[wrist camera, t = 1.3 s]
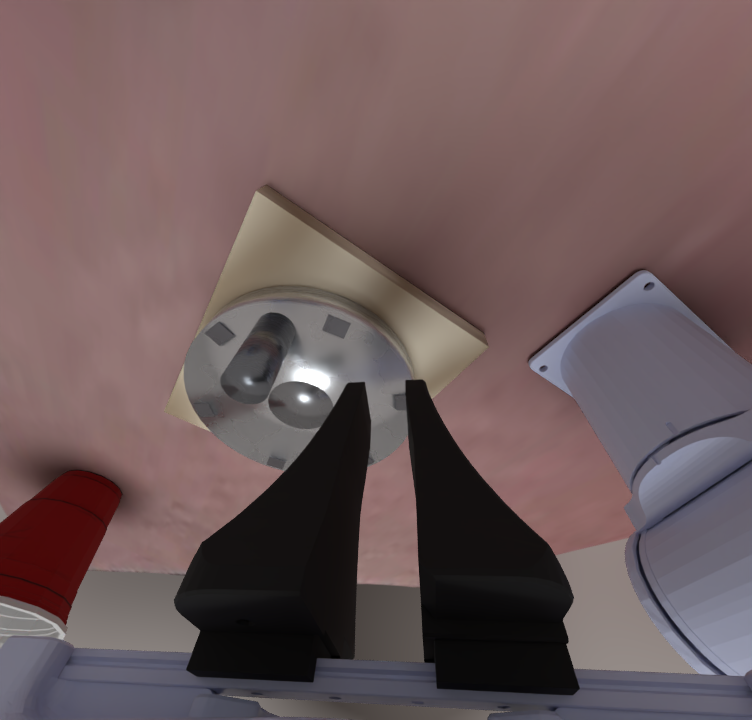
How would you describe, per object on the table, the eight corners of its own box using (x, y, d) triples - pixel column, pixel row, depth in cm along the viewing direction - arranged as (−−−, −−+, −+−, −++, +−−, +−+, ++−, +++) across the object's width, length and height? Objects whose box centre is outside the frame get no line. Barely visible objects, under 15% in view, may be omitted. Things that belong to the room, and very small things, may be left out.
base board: (483, 333, 21) (489, 348, 20) (339, 470, 31) (336, 487, 29) (265, 184, 17) (254, 190, 16) (174, 397, 26) (162, 413, 25)
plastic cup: (172, 506, 36) (89, 651, 26) (99, 521, 39) (1, 657, 29) (87, 441, 30) (-59, 598, 21) (9, 465, 33) (-152, 611, 23)
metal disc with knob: (418, 450, 26) (423, 537, 21) (242, 454, 27) (205, 536, 22) (410, 276, 18) (414, 347, 12) (159, 295, 19) (68, 365, 14)
